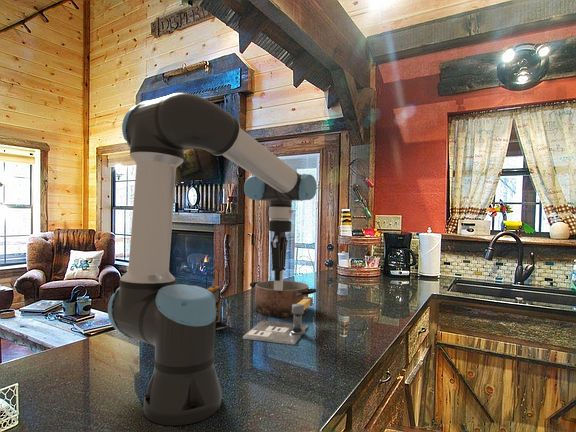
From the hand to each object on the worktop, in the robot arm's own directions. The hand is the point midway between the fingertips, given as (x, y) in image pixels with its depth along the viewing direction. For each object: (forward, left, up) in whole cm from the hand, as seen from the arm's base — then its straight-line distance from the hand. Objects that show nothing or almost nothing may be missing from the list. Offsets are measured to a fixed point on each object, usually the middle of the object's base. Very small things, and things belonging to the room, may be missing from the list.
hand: (278, 289), depth 121 cm
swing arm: (+6, -7, -7) cm, 12 cm away
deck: (0, 0, -14) cm, 14 cm away
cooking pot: (+30, +7, -15) cm, 34 cm away
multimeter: (+2, +21, -15) cm, 26 cm away
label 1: (-6, +4, -14) cm, 16 cm away
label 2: (0, 0, -14) cm, 14 cm away
